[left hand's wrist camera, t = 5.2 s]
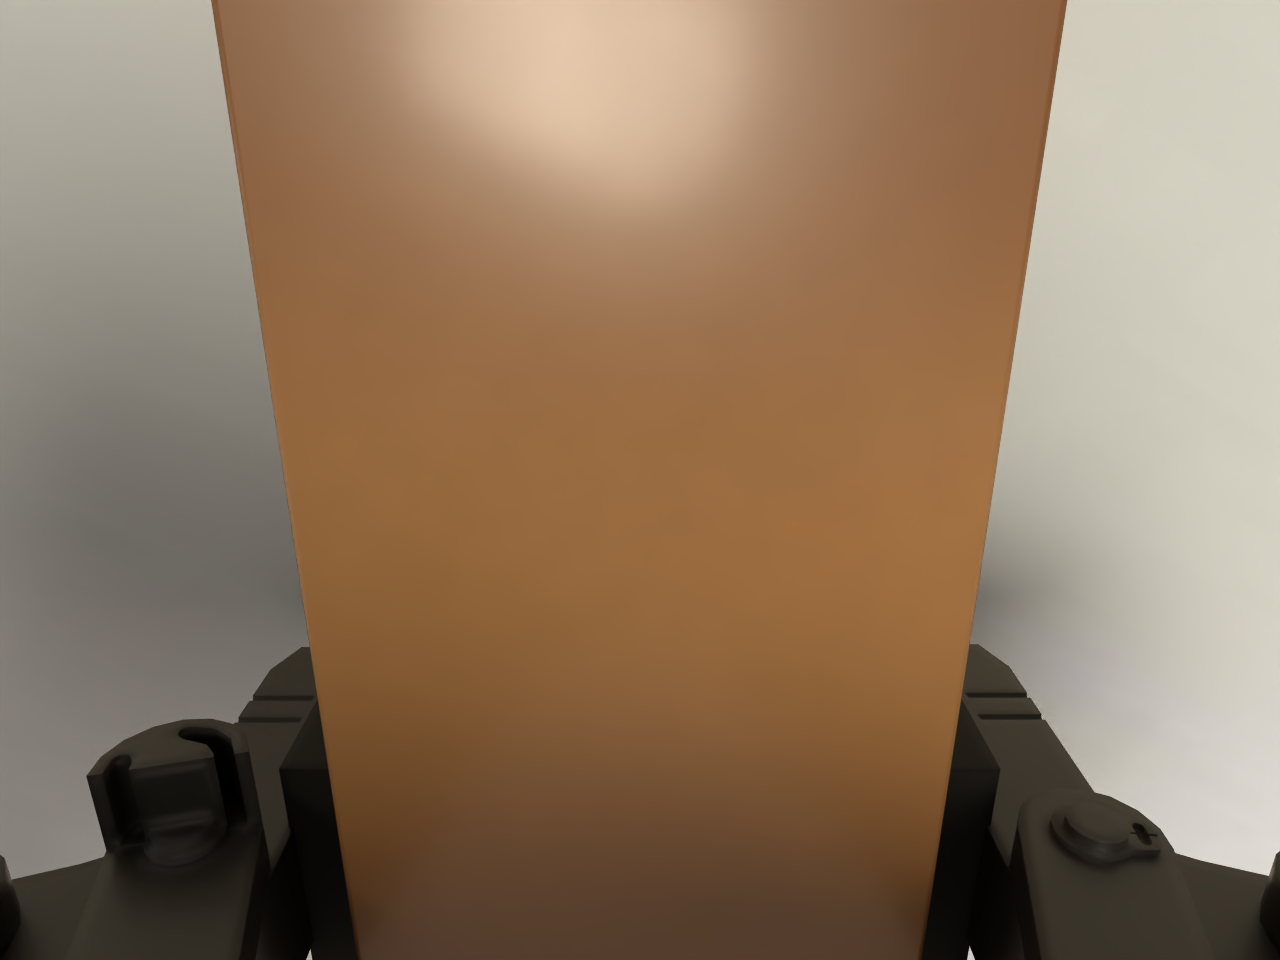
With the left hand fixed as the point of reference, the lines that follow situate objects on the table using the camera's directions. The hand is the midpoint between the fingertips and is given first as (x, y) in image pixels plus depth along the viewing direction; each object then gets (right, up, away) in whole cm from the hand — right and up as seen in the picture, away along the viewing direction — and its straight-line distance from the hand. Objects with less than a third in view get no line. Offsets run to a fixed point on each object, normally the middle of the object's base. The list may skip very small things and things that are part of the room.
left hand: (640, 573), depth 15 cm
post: (0, +34, -13) cm, 37 cm away
